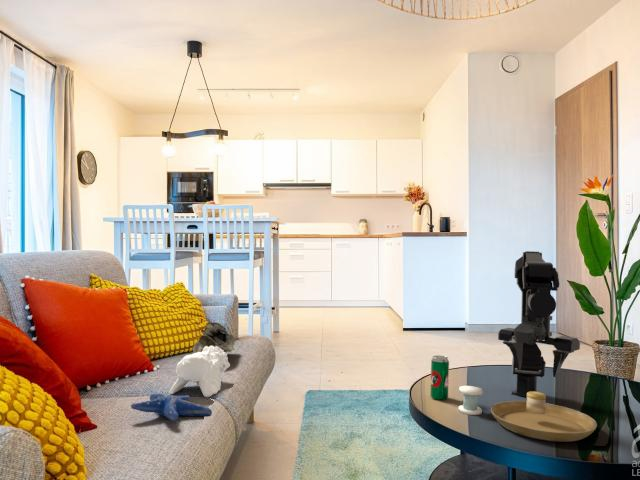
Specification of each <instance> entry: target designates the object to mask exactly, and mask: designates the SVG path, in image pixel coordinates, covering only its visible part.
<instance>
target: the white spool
mask: <svg viewBox="0 0 640 480" xmlns="http://www.w3.org/2000/svg"><path fill="white" fill-rule="evenodd" d="M458 392H459V393H461V394H463V403H462V404H461V405H458V412H460V413H461V414H464V415H469V416H480V415H481V414H482V413H483V412H482V411H483V409H482V408H481V407H480V406H478V397H479V396H481V395H483V389H482V388H481V387H477V386H473V385H462V386H459V388H458Z"/></svg>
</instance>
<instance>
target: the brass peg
mask: <svg viewBox="0 0 640 480" xmlns="http://www.w3.org/2000/svg"><path fill="white" fill-rule="evenodd" d="M546 399H547V395H546V393H545V394H544V393H542V392H538V391H537V392H527V397H526V401H527V407H526V410H527V411H528V412H530V413H533V414H545V404H546V403H547V402H546Z"/></svg>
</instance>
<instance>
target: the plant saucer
mask: <svg viewBox="0 0 640 480" xmlns="http://www.w3.org/2000/svg"><path fill="white" fill-rule="evenodd" d="M526 407H527V400H509V401H502V402H497V403H494V404H492V405H491V407H490V411H491V414H492V416H493V418H494V419H495V420H496V421H497V422H498V423H499V424H500V425H501V426H502V427H504V429H506V430H509V431H511V432H513V433H515V434H518V435H520V436H524V437H527V438H530V439H534V440H540V441H547V442H558V443H559V442H560V443H561V442H563V443H566V442H567V443H569V442H576V441H580V440H583V439H585V438H587V437H589V436H590V435H591V434H592V433H594V431H596V429H597V427H598V424H597V421H596V420H595V419H594V418H593V417H591V416H590V415H588V414H586V413H583V412H581V411H578V410H577V409H573V408H569V407H566V406H561V405H557V404H553V403H548V402H546V404H545V414H533V413H530V412H528V411H527V410H526Z"/></svg>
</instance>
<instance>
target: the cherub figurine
mask: <svg viewBox="0 0 640 480" xmlns="http://www.w3.org/2000/svg"><path fill="white" fill-rule="evenodd" d="M230 366H231V364H230V362H229V358H228V353H227V352H224V350H222V349H220V348H219V347H217V346H216V347H214V346H209V347H207V346H205V347H204V348H203V351H202V352H197V353H194V354H193V353H192V354H186V355H185V356H184V357H182V359H181V360H180V361H179V362H177V364H176V367H175V372H176V373H175V374H178V375H177V379H176V381H175V382H174V384H173V385H172V386H171V388H170V390H169V391H168V393H169V394H170V395H174V394H175V393H177V392H179V391H180V390H181V389H183V388H184V387H185V386H187V385H188V383H189V382H192V383H196V382H197V383H198V387H199V388H200V391H201V392H202V396H204V398H209V397H211V396H213V395H216V394H217V393H218V392H220V390H221V386H222V383H221V381H222V378H221V375H222V374H223V373H224V372H225V371H227V369H228V368H230Z"/></svg>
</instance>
